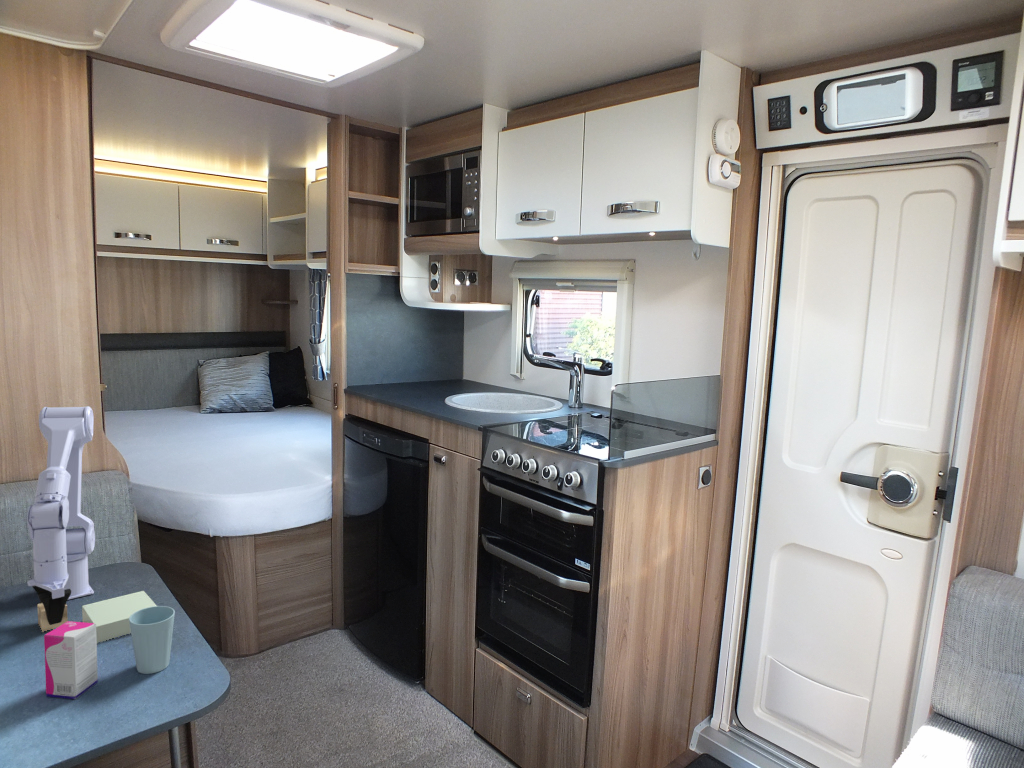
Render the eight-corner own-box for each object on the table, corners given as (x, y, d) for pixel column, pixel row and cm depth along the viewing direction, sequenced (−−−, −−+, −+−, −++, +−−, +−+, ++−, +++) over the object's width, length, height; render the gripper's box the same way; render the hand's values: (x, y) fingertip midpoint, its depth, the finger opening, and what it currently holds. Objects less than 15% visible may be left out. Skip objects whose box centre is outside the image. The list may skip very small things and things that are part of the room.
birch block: (38, 624, 141) (37, 604, 140) (63, 617, 144) (62, 598, 144) (42, 632, 138) (41, 611, 137) (67, 625, 141) (67, 605, 140)
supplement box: (99, 681, 122) (97, 622, 120) (75, 700, 116) (72, 638, 114) (70, 678, 122) (67, 619, 121) (44, 697, 116) (41, 635, 115)
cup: (158, 679, 123) (157, 626, 122) (120, 675, 124) (119, 622, 123) (184, 658, 131) (183, 607, 129) (147, 654, 132) (146, 604, 130)
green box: (82, 623, 143) (82, 605, 143) (143, 607, 151) (143, 590, 151) (96, 645, 135) (95, 626, 134) (160, 627, 143) (160, 609, 142)
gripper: (20, 551, 142) (23, 611, 143) (33, 573, 131) (36, 637, 133) (60, 544, 146) (62, 602, 148) (75, 564, 136) (77, 627, 138)
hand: (52, 618), depth 141 cm, fingers closed on birch block, 4 cm apart
